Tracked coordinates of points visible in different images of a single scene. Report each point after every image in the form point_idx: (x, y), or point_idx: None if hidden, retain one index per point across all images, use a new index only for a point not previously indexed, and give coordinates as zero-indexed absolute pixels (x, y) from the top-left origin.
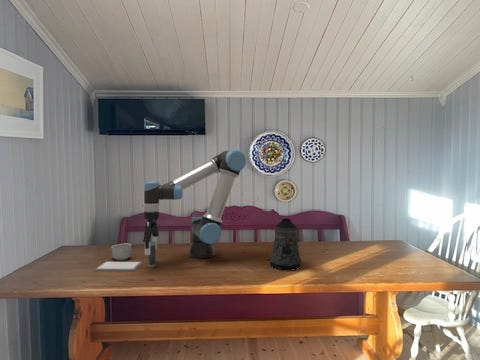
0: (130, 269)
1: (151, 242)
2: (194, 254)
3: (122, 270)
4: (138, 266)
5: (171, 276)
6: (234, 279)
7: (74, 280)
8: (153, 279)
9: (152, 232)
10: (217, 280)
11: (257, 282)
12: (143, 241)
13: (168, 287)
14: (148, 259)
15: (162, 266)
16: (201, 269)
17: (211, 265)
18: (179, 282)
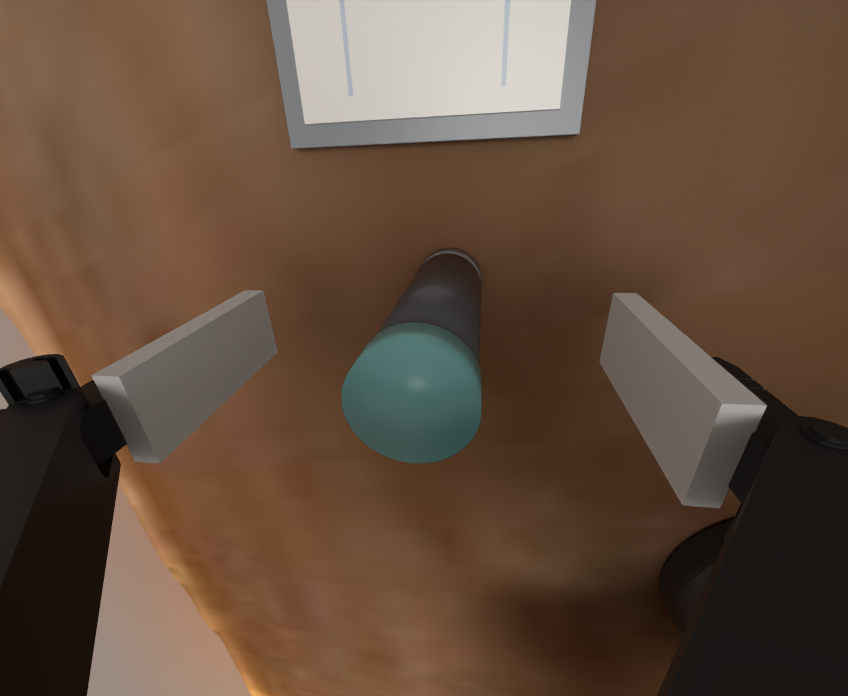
0: (287, 106)
1: (384, 406)
2: (697, 570)
3: (271, 4)
4: (438, 141)
5: (254, 444)
6: (286, 647)
7: None
8: None
9: (730, 537)
10: (258, 605)
11: (274, 688)
12: (21, 373)
13: None
14: (432, 265)
15: None
16: (406, 566)
17: (486, 606)
18: (181, 486)
